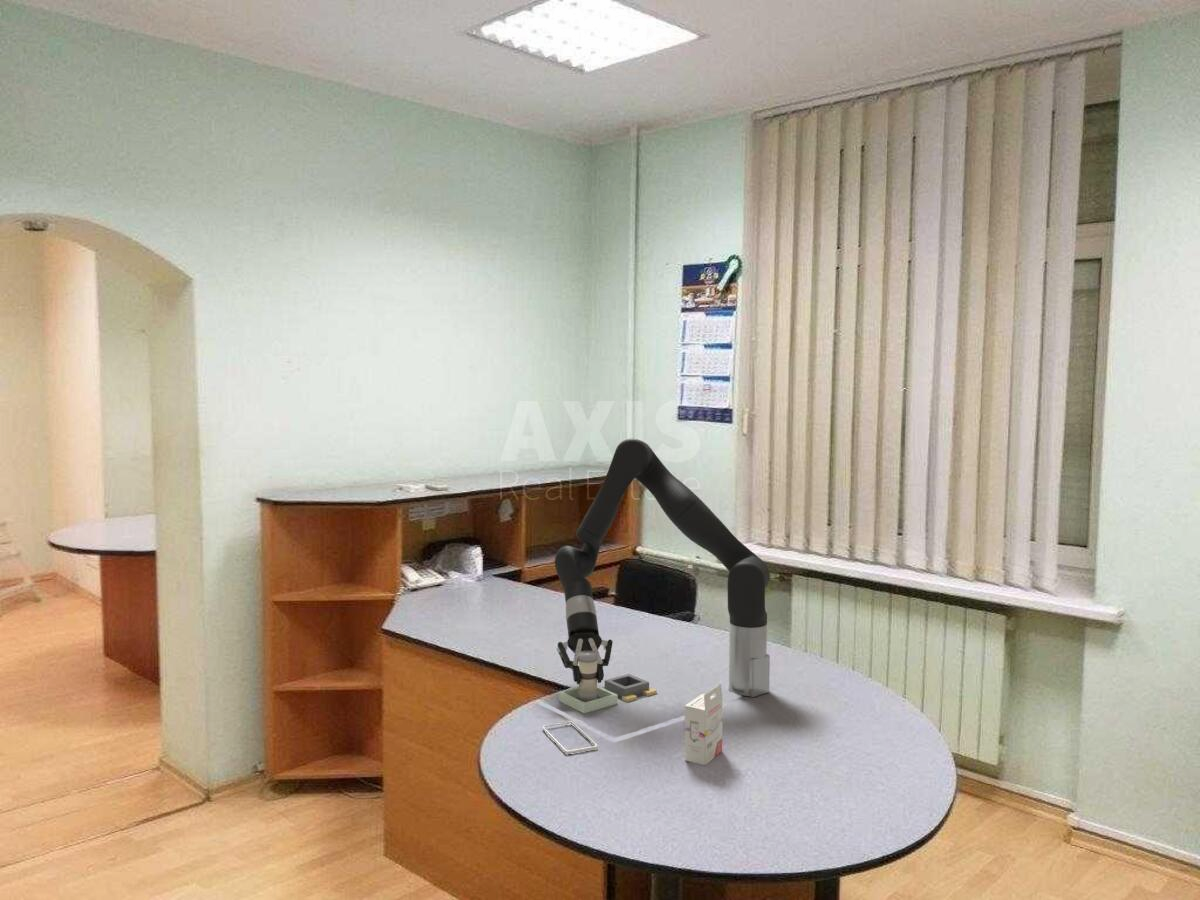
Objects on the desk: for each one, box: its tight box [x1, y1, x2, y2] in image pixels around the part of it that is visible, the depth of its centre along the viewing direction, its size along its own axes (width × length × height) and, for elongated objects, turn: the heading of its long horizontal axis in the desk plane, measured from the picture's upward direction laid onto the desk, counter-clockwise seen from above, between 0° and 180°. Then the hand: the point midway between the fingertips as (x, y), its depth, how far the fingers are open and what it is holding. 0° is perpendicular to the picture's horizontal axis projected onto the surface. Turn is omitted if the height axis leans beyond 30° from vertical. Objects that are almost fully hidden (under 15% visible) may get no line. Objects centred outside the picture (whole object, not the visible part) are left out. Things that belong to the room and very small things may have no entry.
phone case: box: [542, 720, 598, 754], centre depth 194 cm, size 7×1×15 cm
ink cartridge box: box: [684, 683, 724, 766], centre depth 185 cm, size 9×5×15 cm, turn 148°
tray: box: [558, 685, 619, 714], centre depth 213 cm, size 10×10×3 cm
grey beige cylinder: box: [577, 650, 599, 702], centre depth 213 cm, size 5×5×11 cm
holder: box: [600, 673, 659, 704], centre depth 221 cm, size 12×10×4 cm
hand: (589, 681), depth 211 cm, fingers closed on grey beige cylinder, 4 cm apart
